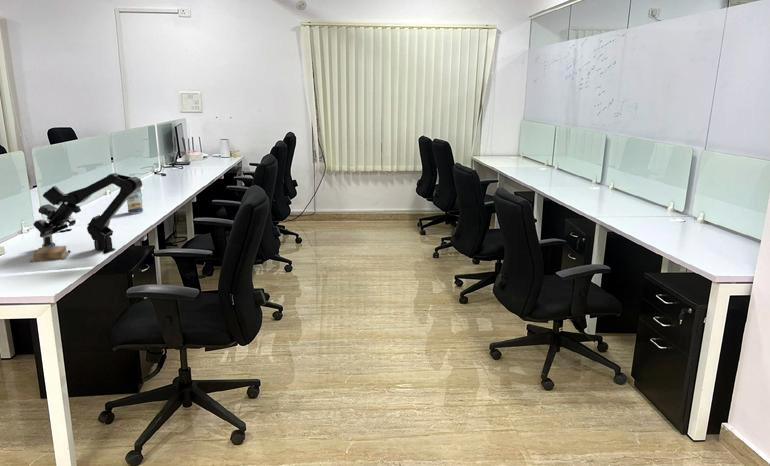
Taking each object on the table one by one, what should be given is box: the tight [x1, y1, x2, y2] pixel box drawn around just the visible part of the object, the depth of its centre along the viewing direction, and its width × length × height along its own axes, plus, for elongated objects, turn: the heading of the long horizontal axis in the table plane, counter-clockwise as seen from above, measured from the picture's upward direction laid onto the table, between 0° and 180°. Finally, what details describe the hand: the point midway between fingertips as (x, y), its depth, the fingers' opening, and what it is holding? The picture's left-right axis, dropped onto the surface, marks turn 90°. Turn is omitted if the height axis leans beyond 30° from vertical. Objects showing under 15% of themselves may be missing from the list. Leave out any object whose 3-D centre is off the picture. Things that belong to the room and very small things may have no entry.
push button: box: [41, 229, 57, 248], centre depth 245 cm, size 7×5×10 cm
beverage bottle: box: [126, 188, 144, 215], centre depth 322 cm, size 8×8×20 cm
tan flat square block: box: [33, 245, 68, 261], centre depth 232 cm, size 10×10×3 cm
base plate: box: [29, 249, 72, 263], centre depth 233 cm, size 13×13×2 cm
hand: (45, 235), depth 245 cm, fingers closed on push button, 5 cm apart
